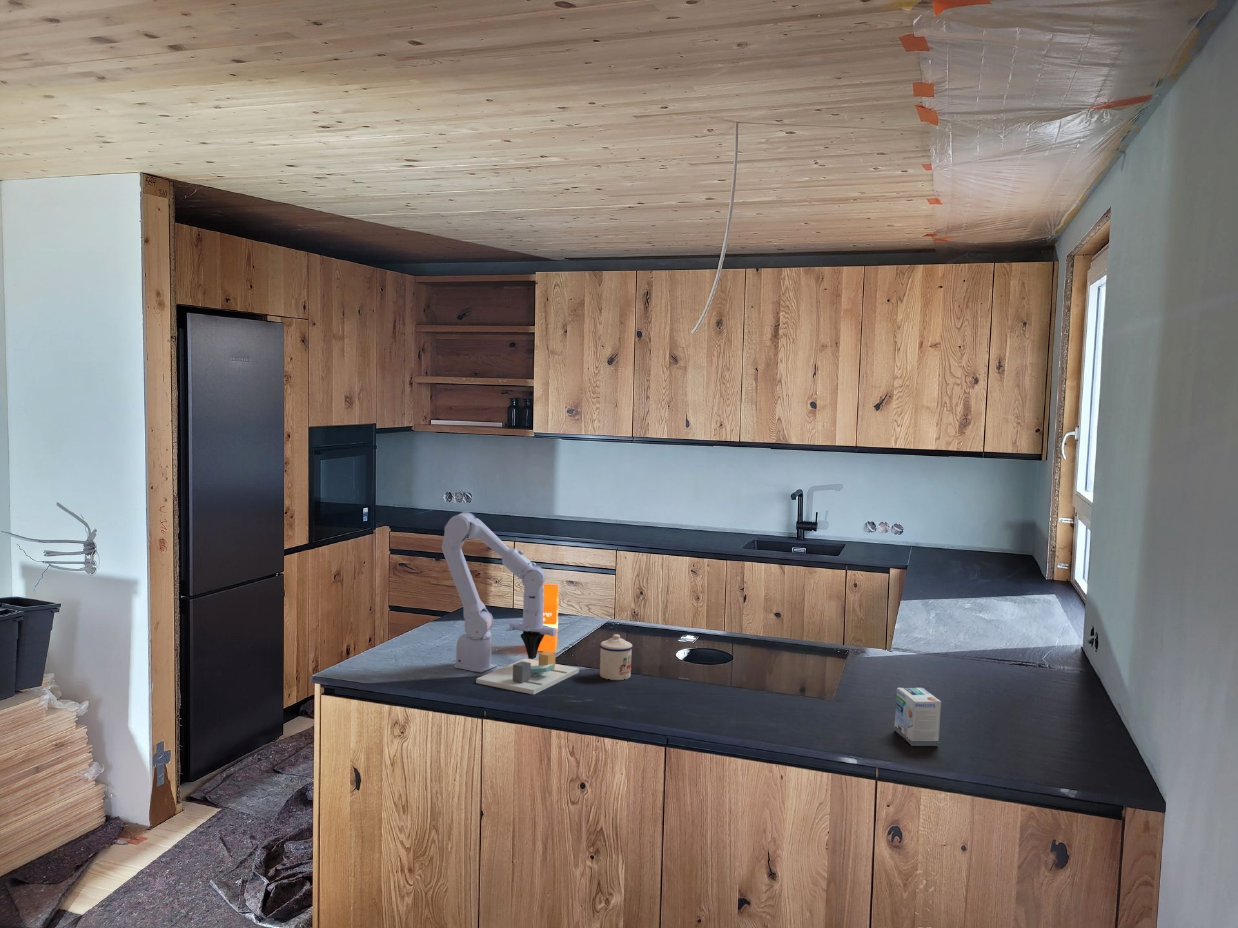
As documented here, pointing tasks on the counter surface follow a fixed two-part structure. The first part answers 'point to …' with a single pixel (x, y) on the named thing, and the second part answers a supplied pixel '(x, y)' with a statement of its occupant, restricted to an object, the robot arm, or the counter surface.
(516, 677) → the charcoal fader
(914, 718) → the light bulb box
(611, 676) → the teacup with lid
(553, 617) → the orange juice
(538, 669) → the teal flat block
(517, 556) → the robot arm
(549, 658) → the block
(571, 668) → the panel
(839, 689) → the counter surface
